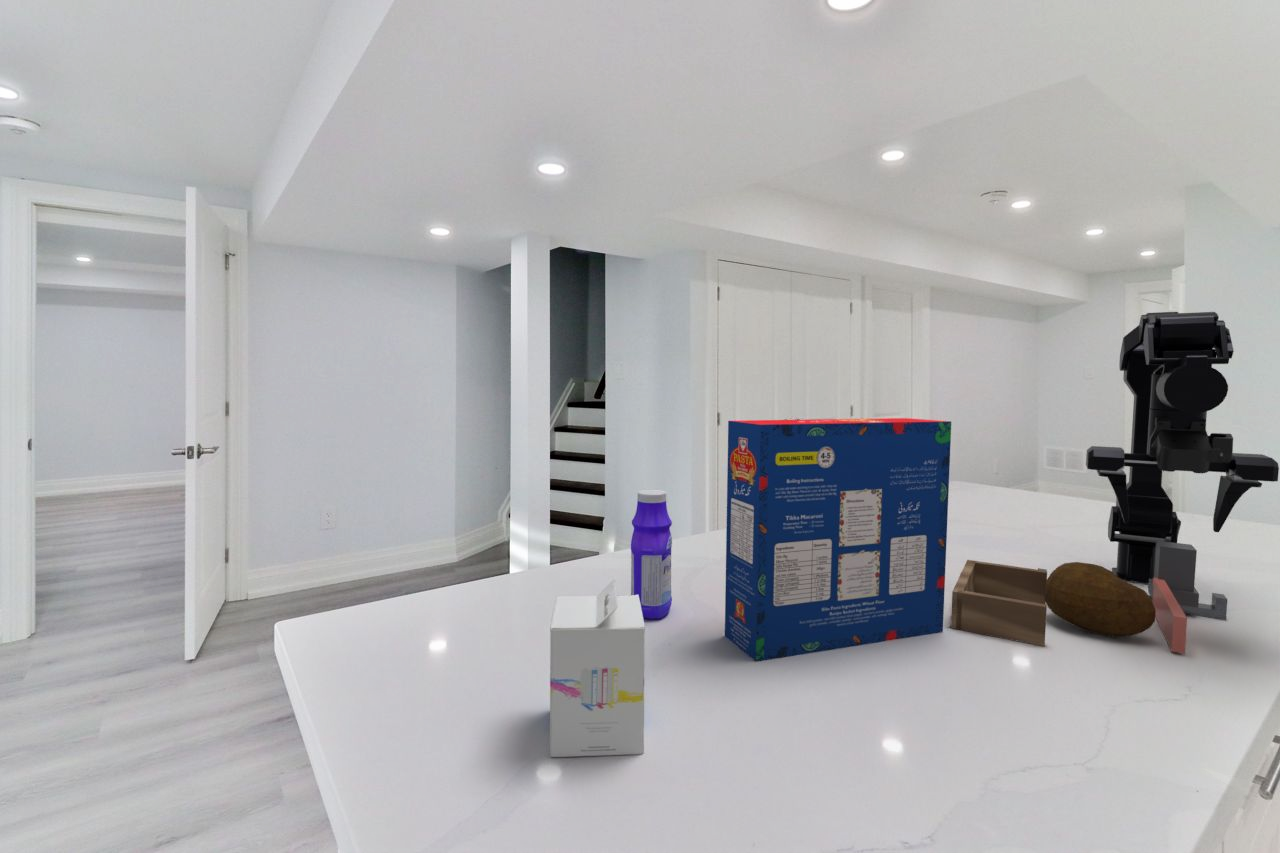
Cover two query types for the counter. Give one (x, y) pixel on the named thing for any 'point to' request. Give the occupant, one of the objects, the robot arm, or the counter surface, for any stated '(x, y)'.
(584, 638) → the ink box
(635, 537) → the bottle
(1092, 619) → the potato
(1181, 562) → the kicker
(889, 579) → the pasta box
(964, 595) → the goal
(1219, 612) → the rail
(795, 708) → the counter surface
